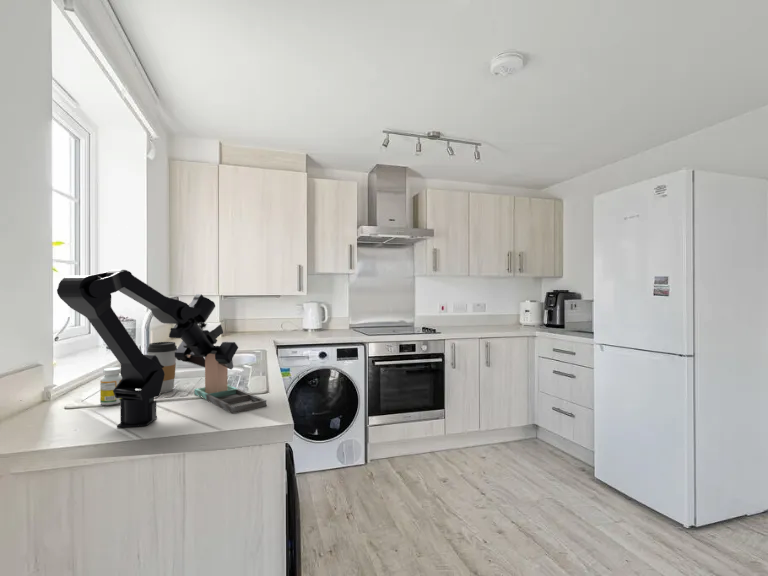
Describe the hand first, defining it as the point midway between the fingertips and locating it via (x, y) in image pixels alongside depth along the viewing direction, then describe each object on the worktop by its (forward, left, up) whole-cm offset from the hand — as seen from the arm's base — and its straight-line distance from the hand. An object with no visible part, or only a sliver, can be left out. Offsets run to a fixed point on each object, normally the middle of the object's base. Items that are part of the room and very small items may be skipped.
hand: (219, 367), depth 124 cm
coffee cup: (-19, +6, -8) cm, 21 cm away
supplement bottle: (-28, -6, -8) cm, 29 cm away
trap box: (+4, -8, -8) cm, 12 cm away
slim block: (-1, -1, -8) cm, 8 cm away
